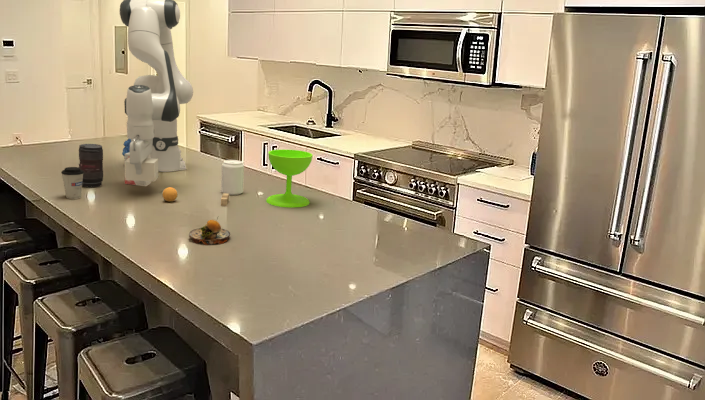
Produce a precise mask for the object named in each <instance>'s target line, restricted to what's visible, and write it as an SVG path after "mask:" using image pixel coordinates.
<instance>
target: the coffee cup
mask: <svg viewBox="0 0 705 400" xmlns="http://www.w3.org/2000/svg"><path fill="white" fill-rule="evenodd" d="M83 173H84V172H83V170H80V168H79V166H69V167H64V169H63V170H62V171H61V174H62V176H61V177H62V181H63V187H64V192H65V197H66V198H67V199H69V200H76V199H80V198H82V189H83V186H82V181H83Z"/></svg>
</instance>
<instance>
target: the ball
mask: <svg viewBox="0 0 705 400" xmlns="http://www.w3.org/2000/svg"><path fill="white" fill-rule="evenodd" d="M162 198H163V199H164V201H166V202H169V203H172V202H174V201H175V200H176V199H177V198H178V191H177V190H176V188H174V187H172V186H171V187H170V186H169V187H166V188H164V189H163V191H162Z"/></svg>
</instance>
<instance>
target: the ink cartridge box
mask: <svg viewBox="0 0 705 400" xmlns="http://www.w3.org/2000/svg"><path fill="white" fill-rule="evenodd" d="M128 158H130V152H129V153H126V154H125V159H124V162H125V161H126V160H127V159H128ZM148 158H151V154H150V155H149V156H148ZM151 183H152V181H132V180H125V179H124V184H125V185H131V186H132V185H133V186H139V187H147V186H148V185H151Z"/></svg>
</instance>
